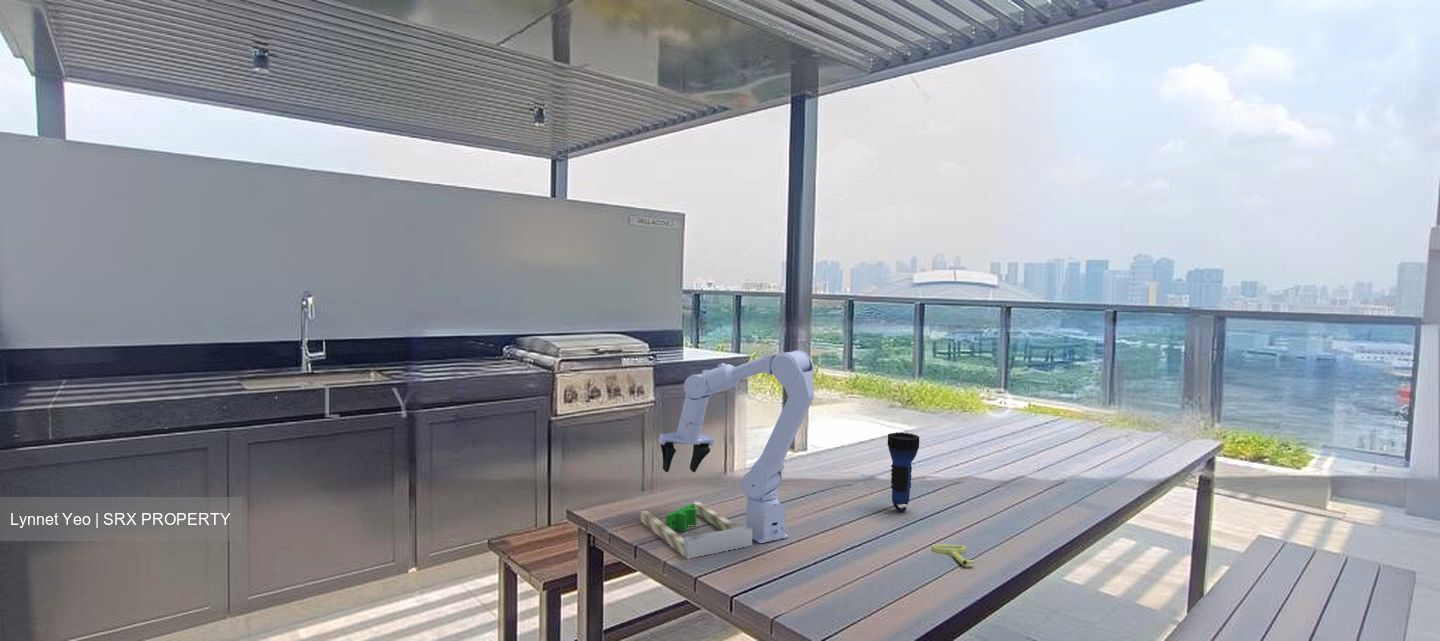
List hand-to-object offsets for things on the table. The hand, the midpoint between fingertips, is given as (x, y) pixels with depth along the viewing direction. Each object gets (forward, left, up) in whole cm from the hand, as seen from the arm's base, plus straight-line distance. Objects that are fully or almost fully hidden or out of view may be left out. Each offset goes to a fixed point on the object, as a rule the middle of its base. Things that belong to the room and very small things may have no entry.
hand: (679, 470), depth 162 cm
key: (-50, -42, -12) cm, 67 cm away
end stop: (-24, +2, -12) cm, 27 cm away
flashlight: (-24, -53, -12) cm, 59 cm away
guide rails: (-11, +2, -12) cm, 16 cm away
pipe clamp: (-8, +2, -12) cm, 14 cm away
